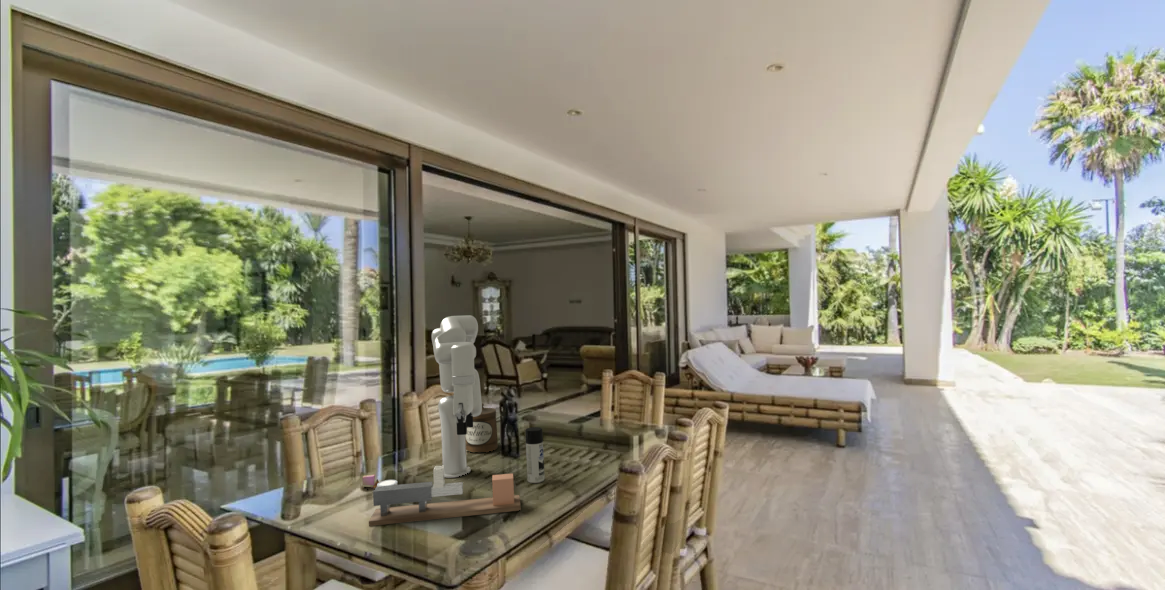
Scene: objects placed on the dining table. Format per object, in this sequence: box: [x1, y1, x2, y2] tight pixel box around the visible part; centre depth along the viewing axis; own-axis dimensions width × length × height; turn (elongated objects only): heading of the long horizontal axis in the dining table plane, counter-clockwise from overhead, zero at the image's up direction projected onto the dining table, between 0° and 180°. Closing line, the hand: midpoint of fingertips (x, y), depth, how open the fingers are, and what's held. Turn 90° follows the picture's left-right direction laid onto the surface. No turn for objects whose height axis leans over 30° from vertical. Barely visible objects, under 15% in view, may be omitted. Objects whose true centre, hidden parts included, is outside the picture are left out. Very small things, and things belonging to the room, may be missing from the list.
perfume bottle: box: [361, 474, 379, 490], centre depth 200 cm, size 12×12×4 cm
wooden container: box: [465, 402, 499, 453], centre depth 245 cm, size 15×15×22 cm
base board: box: [368, 494, 522, 527], centre depth 173 cm, size 10×48×2 cm, turn 99°
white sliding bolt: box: [431, 464, 464, 498], centre depth 171 cm, size 4×27×9 cm, turn 99°
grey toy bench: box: [372, 481, 433, 516], centre depth 171 cm, size 5×18×8 cm, turn 99°
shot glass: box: [377, 479, 398, 506], centre depth 183 cm, size 7×7×7 cm
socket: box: [491, 472, 515, 506], centre depth 176 cm, size 5×7×8 cm
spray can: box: [524, 426, 546, 484], centre depth 200 cm, size 7×7×20 cm
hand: (465, 430), depth 175 cm, fingers open, 9 cm apart
